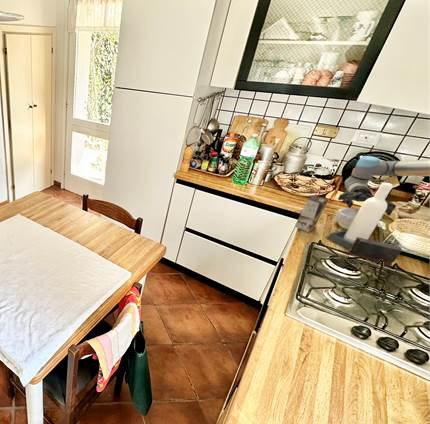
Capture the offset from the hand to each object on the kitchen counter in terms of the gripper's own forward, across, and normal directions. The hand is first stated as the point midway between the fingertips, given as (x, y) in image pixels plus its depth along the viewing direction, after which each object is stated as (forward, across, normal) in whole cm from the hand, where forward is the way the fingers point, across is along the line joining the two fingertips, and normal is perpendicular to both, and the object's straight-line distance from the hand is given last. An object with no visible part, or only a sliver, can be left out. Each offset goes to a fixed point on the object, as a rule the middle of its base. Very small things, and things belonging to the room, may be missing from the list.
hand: (370, 208), depth 139 cm
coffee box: (-4, +18, -18) cm, 26 cm away
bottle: (+3, 0, -17) cm, 17 cm away
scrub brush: (+15, -3, -18) cm, 23 cm away
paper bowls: (-16, -2, -18) cm, 24 cm away
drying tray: (+3, 0, -18) cm, 18 cm away
